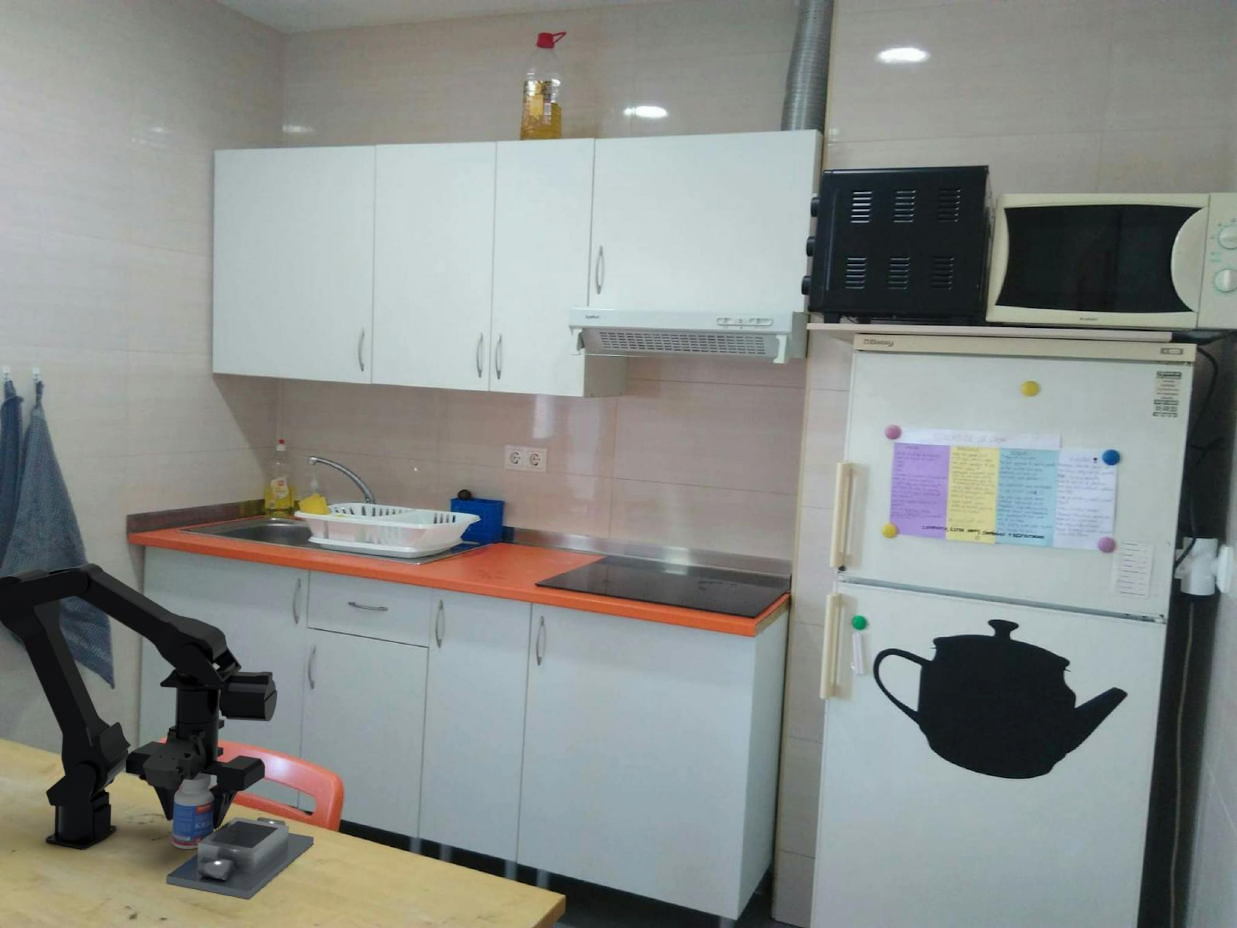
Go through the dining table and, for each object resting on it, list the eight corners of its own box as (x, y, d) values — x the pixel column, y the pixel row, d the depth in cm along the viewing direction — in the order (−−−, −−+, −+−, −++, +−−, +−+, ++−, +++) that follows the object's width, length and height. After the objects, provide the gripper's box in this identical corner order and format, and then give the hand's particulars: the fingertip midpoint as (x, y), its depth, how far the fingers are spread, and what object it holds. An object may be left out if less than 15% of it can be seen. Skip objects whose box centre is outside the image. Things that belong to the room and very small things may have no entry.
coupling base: (166, 882, 126) (167, 853, 126) (239, 830, 142) (240, 803, 142) (248, 898, 124) (249, 868, 124) (313, 843, 139) (314, 816, 139)
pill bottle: (198, 852, 135) (200, 784, 134) (163, 846, 136) (165, 779, 135) (221, 835, 140) (224, 770, 139) (188, 830, 141) (190, 765, 140)
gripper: (98, 726, 131) (95, 838, 132) (221, 745, 127) (217, 860, 128) (154, 701, 141) (151, 805, 143) (269, 719, 138) (264, 825, 139)
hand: (193, 823), depth 138 cm, fingers open, 7 cm apart
